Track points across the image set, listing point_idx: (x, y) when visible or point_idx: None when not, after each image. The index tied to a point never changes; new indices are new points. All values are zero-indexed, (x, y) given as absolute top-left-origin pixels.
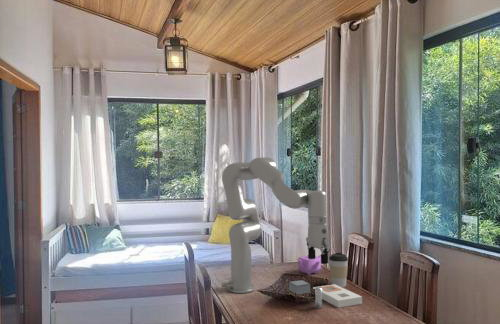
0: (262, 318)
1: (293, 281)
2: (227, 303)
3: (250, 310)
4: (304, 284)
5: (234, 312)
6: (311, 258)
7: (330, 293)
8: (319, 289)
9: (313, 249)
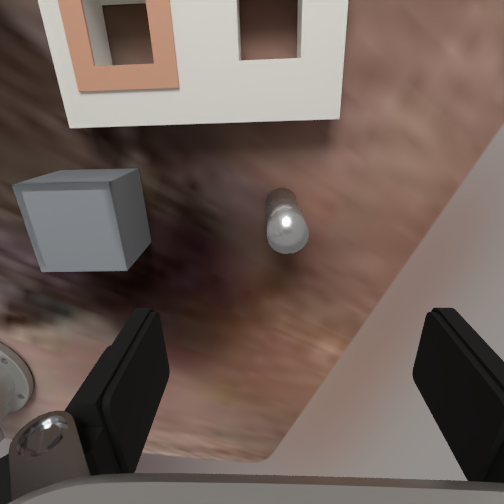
0: (293, 411)
1: (40, 248)
2: None
3: (213, 414)
4: (112, 220)
5: (213, 449)
6: (164, 357)
7: (209, 88)
8: (306, 240)
9: (104, 431)
